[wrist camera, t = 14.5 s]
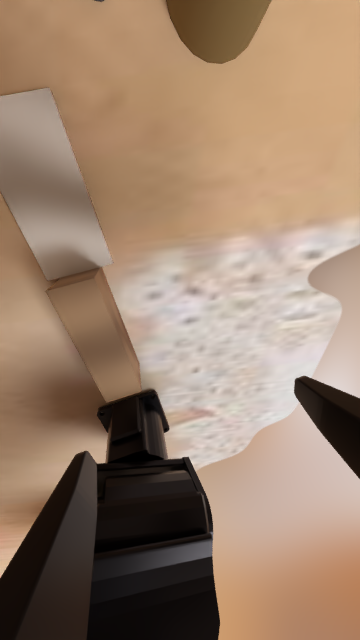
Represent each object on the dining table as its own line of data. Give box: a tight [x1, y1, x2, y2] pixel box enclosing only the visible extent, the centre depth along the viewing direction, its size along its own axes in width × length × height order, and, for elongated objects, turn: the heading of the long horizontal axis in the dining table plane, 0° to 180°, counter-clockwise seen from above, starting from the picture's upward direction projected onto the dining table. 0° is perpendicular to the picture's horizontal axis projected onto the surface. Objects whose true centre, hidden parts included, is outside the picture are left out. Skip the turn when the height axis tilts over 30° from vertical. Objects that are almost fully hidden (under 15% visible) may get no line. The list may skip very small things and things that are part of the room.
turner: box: [0, 88, 142, 403], centre depth 15 cm, size 20×5×4 cm, turn 13°
